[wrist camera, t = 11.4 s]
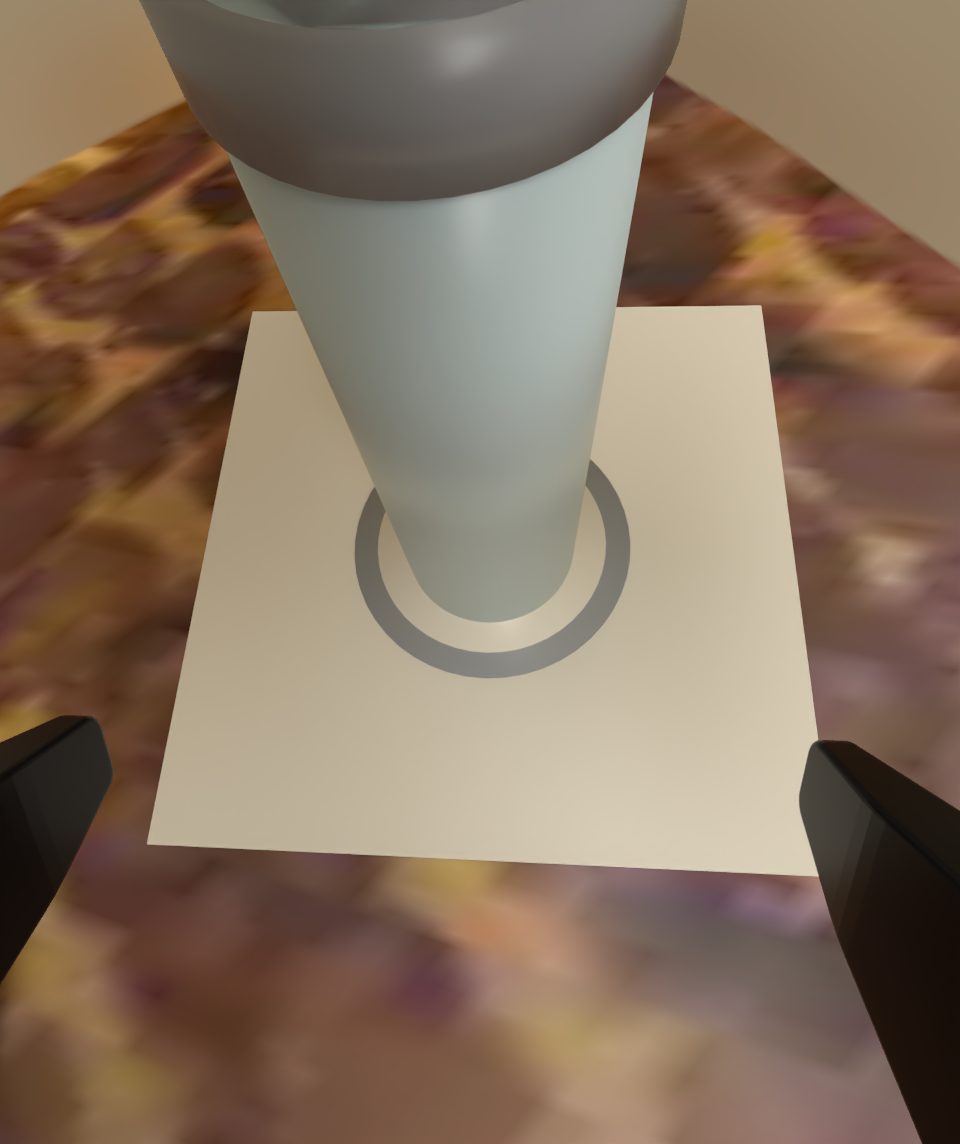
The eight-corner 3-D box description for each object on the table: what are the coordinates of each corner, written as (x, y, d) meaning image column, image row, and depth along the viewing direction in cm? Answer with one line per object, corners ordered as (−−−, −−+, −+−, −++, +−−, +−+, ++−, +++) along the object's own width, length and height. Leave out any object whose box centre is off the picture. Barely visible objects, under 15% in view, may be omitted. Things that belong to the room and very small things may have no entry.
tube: (524, 661, 17) (522, 130, 4) (369, 574, 18) (-24, -59, 5) (610, 511, 18) (814, -254, 5) (460, 439, 20) (329, -340, 7)
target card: (825, 875, 16) (838, 877, 15) (159, 843, 17) (144, 844, 16) (754, 319, 21) (762, 303, 21) (259, 324, 22) (251, 309, 22)
